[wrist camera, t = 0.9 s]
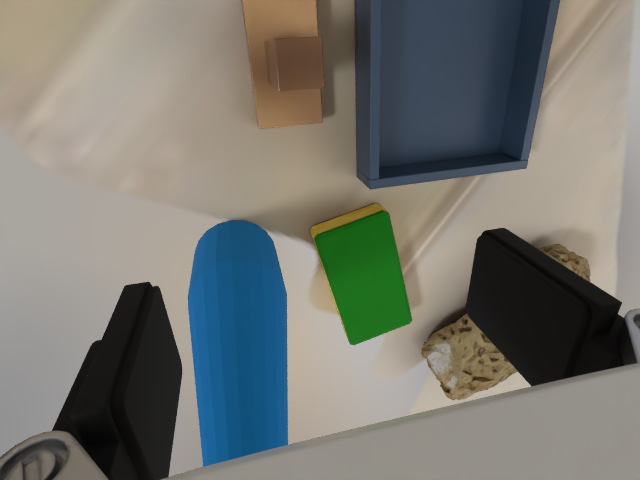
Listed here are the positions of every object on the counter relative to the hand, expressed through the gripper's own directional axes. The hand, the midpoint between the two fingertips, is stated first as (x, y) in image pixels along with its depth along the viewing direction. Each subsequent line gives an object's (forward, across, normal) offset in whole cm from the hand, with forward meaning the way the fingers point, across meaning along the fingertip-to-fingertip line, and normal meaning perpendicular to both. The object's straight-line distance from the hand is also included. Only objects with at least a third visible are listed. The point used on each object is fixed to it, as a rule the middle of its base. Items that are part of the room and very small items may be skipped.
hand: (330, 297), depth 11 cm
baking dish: (+23, -15, -9) cm, 29 cm away
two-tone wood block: (+23, -2, -6) cm, 23 cm away
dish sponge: (+23, -8, +14) cm, 28 cm away
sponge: (+23, -24, +22) cm, 40 cm away
